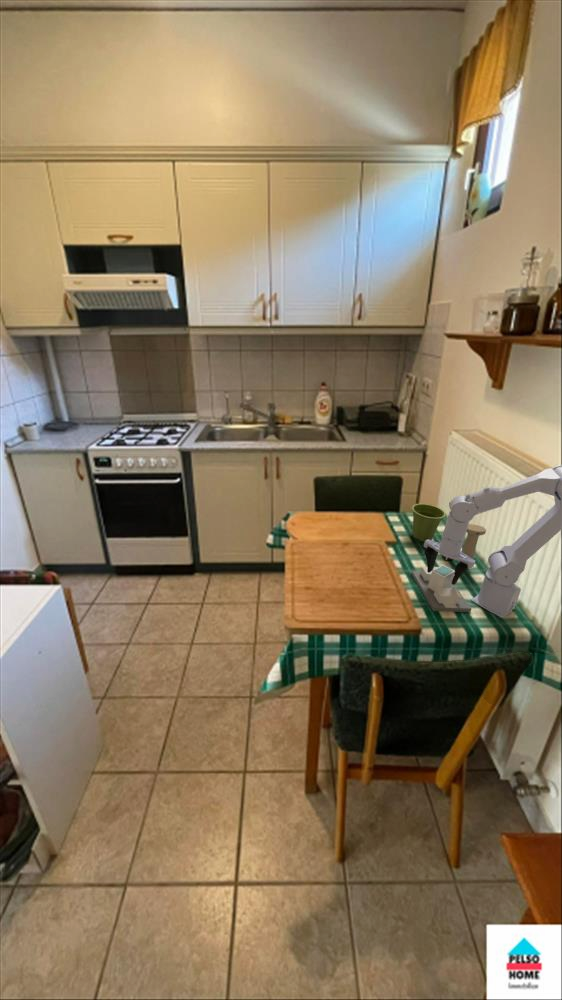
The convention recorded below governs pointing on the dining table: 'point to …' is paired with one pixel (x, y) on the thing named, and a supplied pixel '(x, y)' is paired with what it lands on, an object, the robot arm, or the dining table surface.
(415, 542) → the dining table surface
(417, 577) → the board
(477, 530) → the handle
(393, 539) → the dining table surface
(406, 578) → the dining table surface
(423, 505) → the plant pot
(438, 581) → the module
